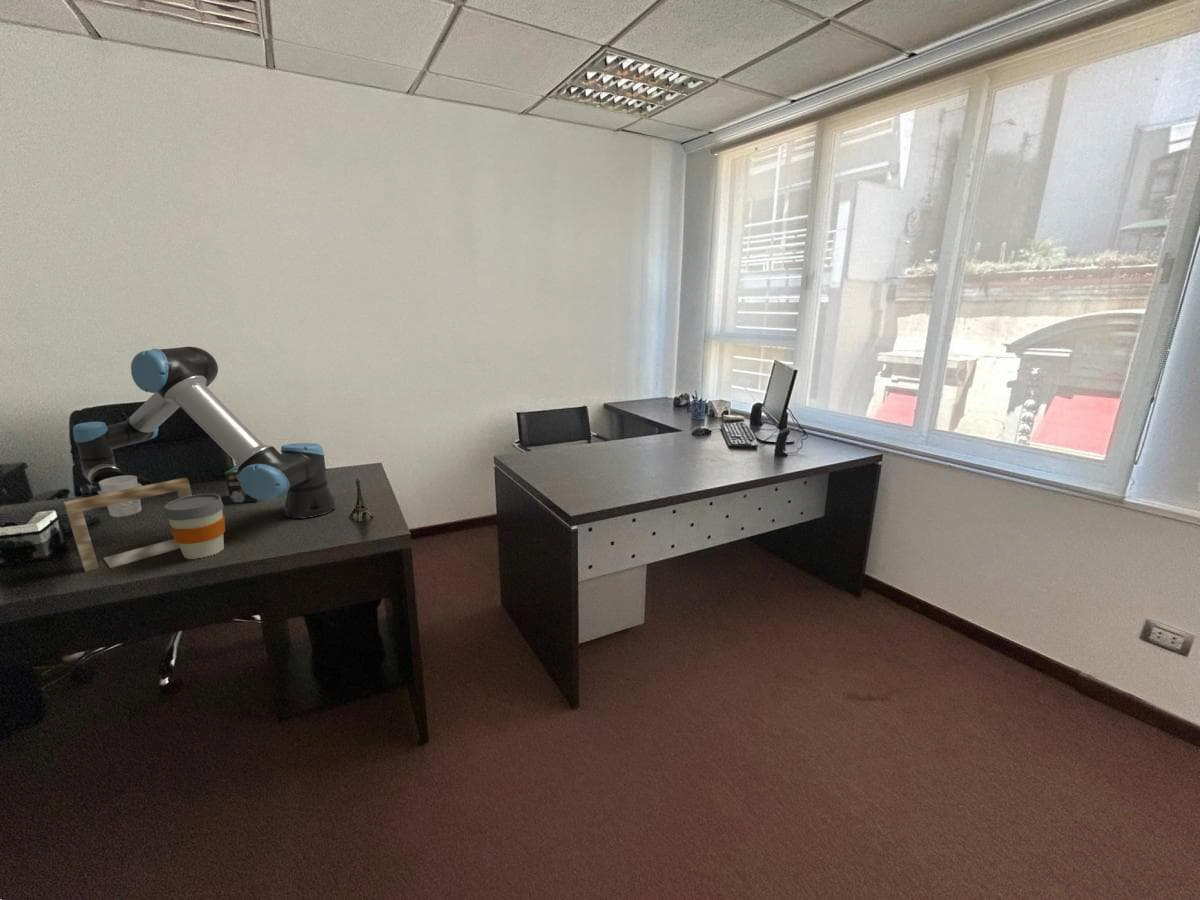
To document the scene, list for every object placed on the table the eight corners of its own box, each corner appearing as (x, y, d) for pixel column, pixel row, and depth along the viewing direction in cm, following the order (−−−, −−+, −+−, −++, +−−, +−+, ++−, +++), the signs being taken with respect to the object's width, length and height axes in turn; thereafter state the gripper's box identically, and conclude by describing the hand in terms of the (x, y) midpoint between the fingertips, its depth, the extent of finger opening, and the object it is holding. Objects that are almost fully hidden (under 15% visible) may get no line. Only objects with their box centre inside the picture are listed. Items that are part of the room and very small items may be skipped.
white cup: (150, 510, 146) (142, 478, 143) (116, 520, 139) (107, 486, 136) (135, 505, 149) (128, 473, 146) (101, 514, 142) (92, 481, 140)
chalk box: (271, 493, 183) (264, 454, 179) (258, 502, 175) (250, 462, 171) (244, 494, 182) (237, 455, 178) (229, 503, 174) (221, 462, 169)
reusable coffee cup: (168, 566, 132) (155, 513, 128) (184, 545, 143) (172, 496, 139) (225, 557, 137) (214, 506, 133) (236, 538, 148) (227, 491, 144)
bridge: (195, 533, 151) (182, 475, 145) (204, 541, 146) (191, 481, 141) (81, 565, 132) (62, 499, 127) (87, 574, 127) (67, 507, 122)
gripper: (153, 481, 162) (174, 499, 149) (63, 499, 146) (77, 520, 133) (148, 459, 160) (169, 475, 146) (56, 475, 144) (69, 494, 131)
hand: (125, 497), depth 140 cm, fingers closed on white cup, 7 cm apart
